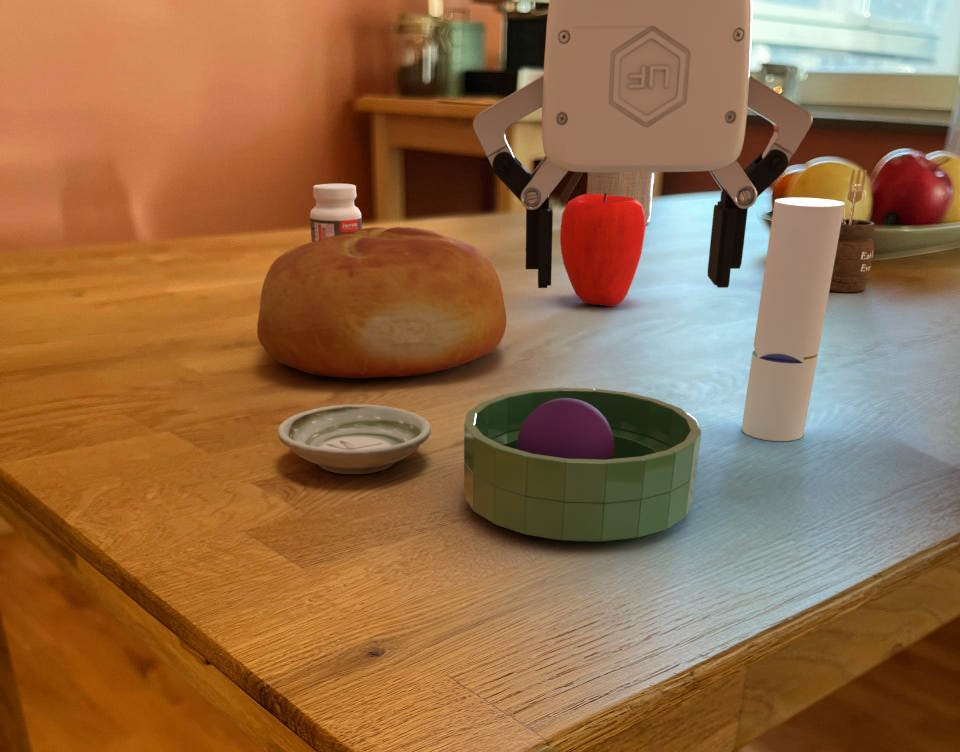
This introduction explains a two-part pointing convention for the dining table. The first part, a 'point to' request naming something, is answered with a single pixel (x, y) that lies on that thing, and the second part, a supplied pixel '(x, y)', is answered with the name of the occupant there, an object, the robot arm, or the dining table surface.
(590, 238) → the apple
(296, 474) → the dining table surface
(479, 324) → the bread
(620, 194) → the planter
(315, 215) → the pill bottle
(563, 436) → the ball
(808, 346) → the tube
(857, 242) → the utensil holder
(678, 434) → the bowl
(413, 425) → the saucer
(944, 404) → the dining table surface
